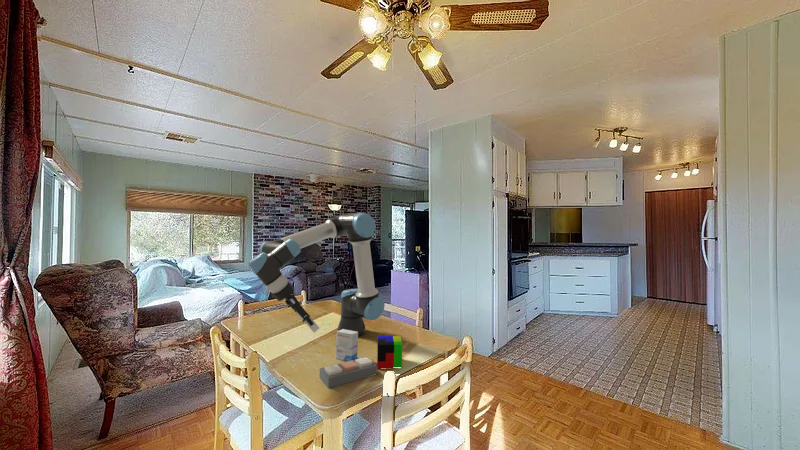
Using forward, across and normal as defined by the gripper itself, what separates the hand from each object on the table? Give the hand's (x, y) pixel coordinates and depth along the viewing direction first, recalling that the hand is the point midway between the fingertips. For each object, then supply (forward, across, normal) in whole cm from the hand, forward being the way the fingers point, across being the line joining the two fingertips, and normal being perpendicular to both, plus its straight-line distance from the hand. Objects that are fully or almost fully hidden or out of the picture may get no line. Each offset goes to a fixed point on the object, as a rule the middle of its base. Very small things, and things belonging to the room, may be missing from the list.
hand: (312, 326), depth 131 cm
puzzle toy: (+30, +14, +13) cm, 36 cm away
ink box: (+22, +1, +2) cm, 22 cm away
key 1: (+14, +17, -6) cm, 23 cm away
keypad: (+19, +17, -2) cm, 25 cm away
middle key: (+17, +17, -1) cm, 24 cm away
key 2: (+21, +16, +4) cm, 27 cm away
